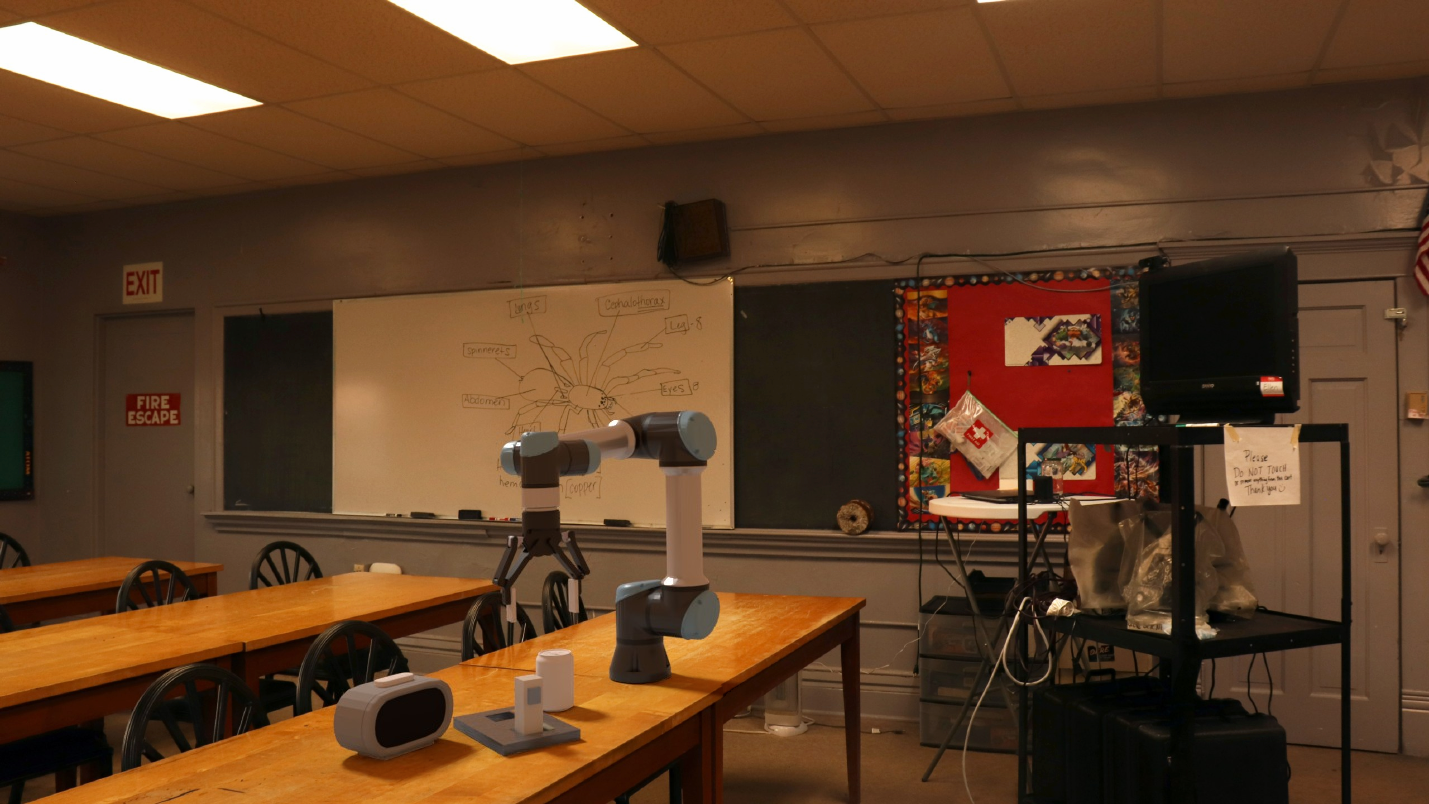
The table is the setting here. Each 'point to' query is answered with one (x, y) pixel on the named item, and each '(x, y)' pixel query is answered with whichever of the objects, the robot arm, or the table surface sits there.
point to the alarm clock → (393, 715)
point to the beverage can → (556, 678)
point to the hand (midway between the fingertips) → (543, 616)
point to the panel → (513, 731)
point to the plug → (528, 704)
